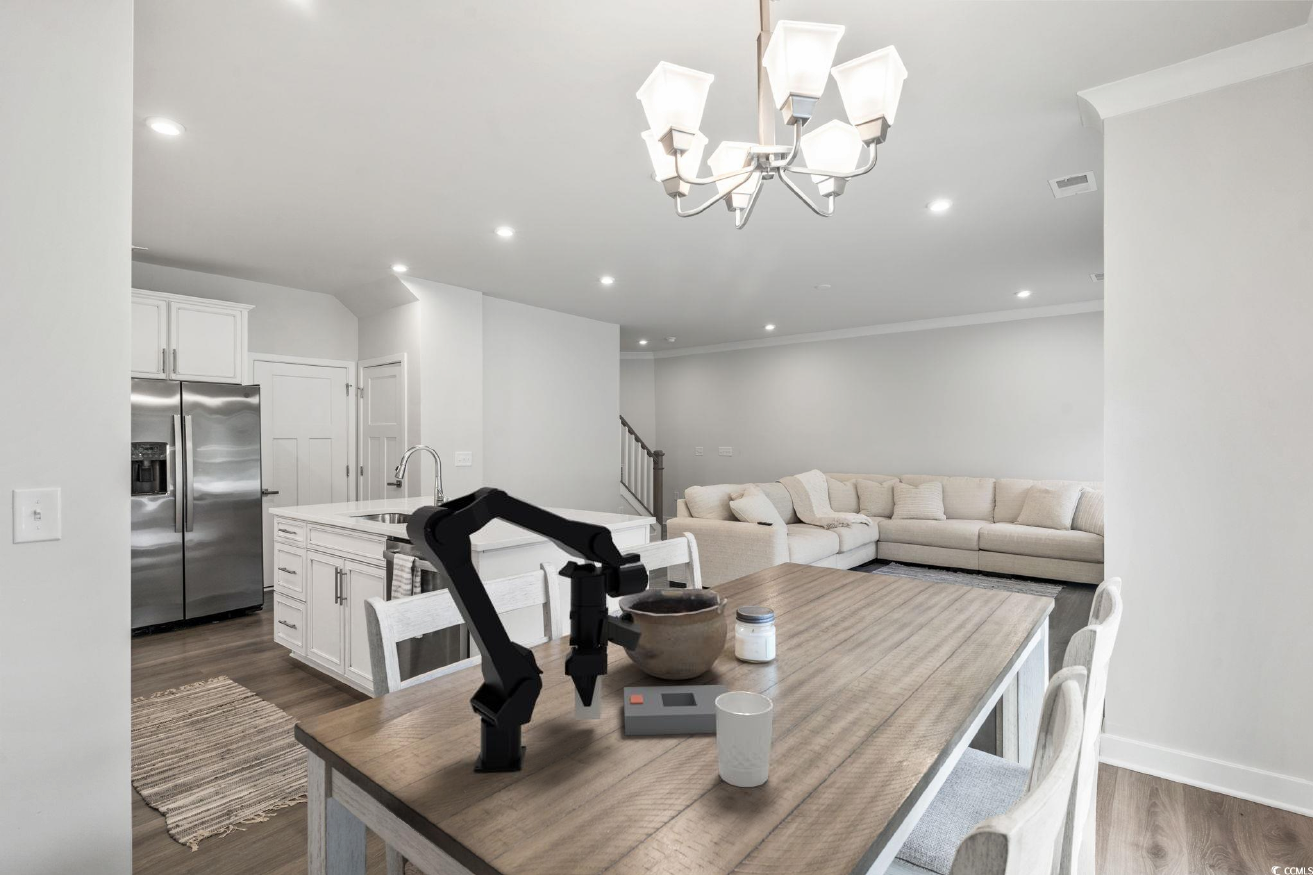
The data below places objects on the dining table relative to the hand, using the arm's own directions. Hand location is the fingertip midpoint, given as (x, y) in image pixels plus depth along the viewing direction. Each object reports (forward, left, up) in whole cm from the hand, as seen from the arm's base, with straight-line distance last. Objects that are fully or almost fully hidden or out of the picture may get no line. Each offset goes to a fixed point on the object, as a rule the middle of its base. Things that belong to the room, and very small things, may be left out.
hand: (588, 700), depth 102 cm
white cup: (-15, -22, -5) cm, 27 cm away
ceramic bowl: (+25, -16, -5) cm, 30 cm away
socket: (+4, -15, -5) cm, 16 cm away
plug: (0, 0, -2) cm, 2 cm away
